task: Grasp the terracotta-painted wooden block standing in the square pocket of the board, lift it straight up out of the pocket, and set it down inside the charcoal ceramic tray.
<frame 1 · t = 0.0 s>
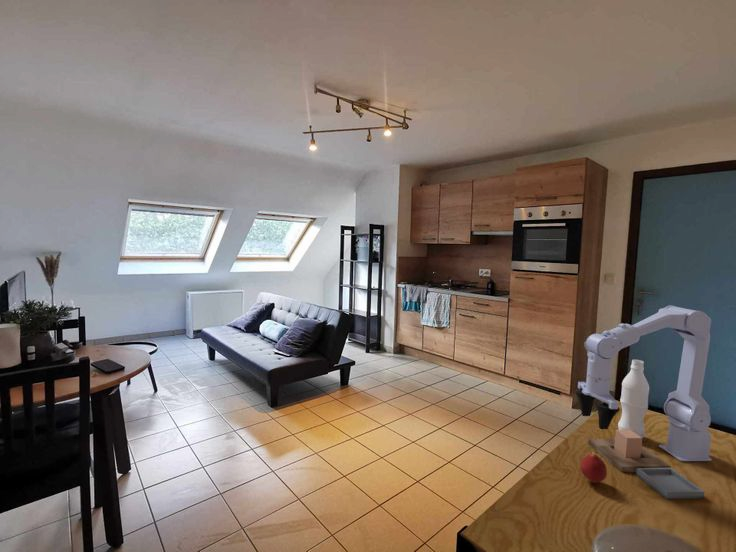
hand: (594, 422, 108), 10 cm above the table, tool pointing down, fingers open, 7 cm apart
block: (627, 445, 108), in the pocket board
tray: (668, 485, 96), on the table
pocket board: (626, 456, 109), on the table
water bottle: (630, 437, 120), on the table
red pomegranate: (592, 482, 96), on the table
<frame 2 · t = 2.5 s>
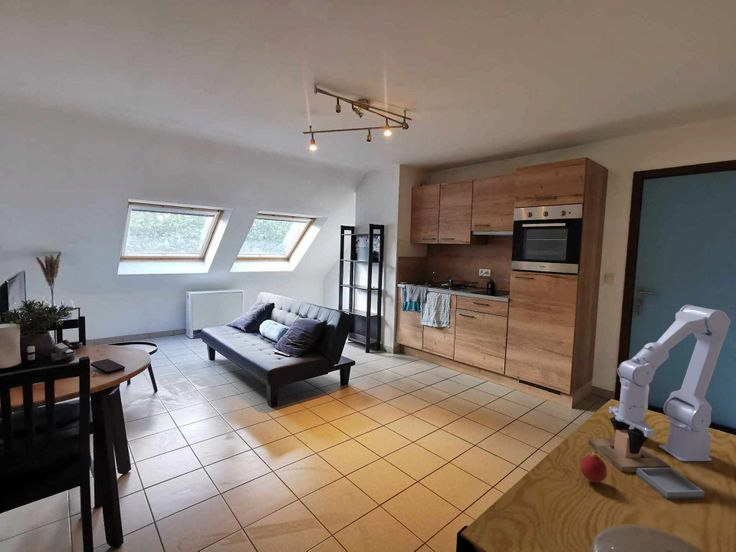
hand: (627, 448, 108), 3 cm above the table, tool pointing down, fingers closed on block, 4 cm apart
block: (627, 445, 108), in the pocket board, touching gripper
everything else where it was.
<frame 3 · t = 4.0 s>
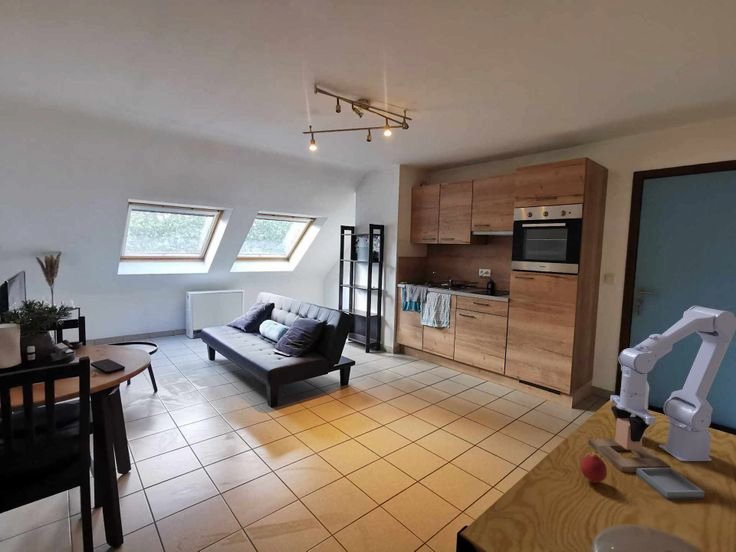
hand: (628, 436, 108), 6 cm above the table, tool pointing down, fingers closed on block, 4 cm apart
block: (629, 433, 108), point 7 cm above the table, touching gripper
everything else where it was.
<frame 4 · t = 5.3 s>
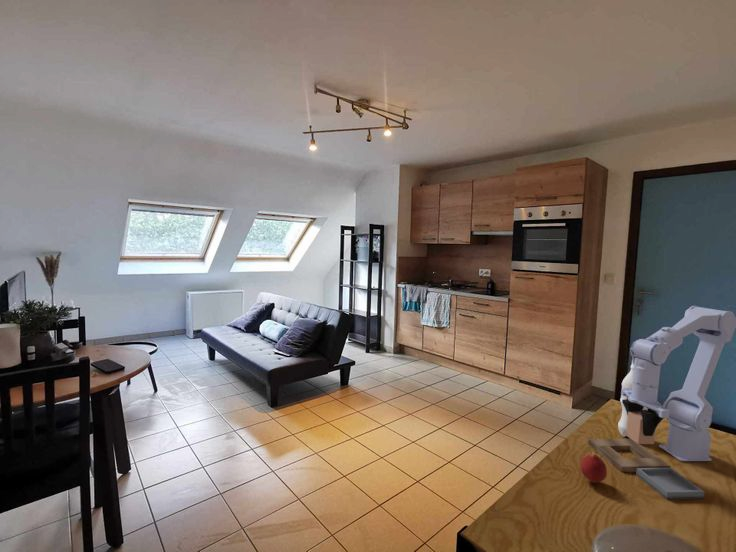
hand: (640, 430, 104), 10 cm above the table, tool pointing down, fingers closed on block, 4 cm apart
block: (640, 427, 104), point 11 cm above the table, touching gripper
everything else where it was.
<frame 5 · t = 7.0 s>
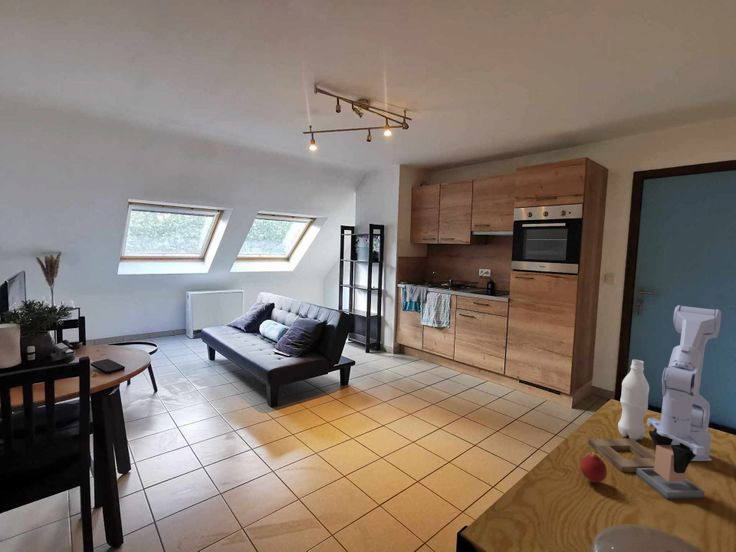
hand: (670, 466, 95), 5 cm above the table, tool pointing down, fingers closed on block, 4 cm apart
block: (670, 462, 95), point 6 cm above the table, touching gripper
everything else where it was.
when the fingers open (4 cm above the table, at t = 8.2 s): block stays where it is, resting on tray.
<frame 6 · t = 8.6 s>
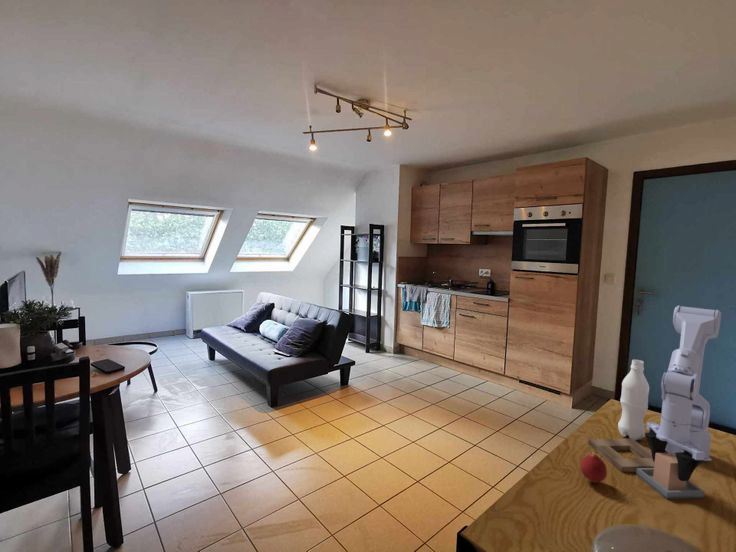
hand: (670, 470, 95), 4 cm above the table, tool pointing down, fingers open, 7 cm apart
block: (669, 470, 95), in the tray, point 4 cm above the table
everything else where it was.
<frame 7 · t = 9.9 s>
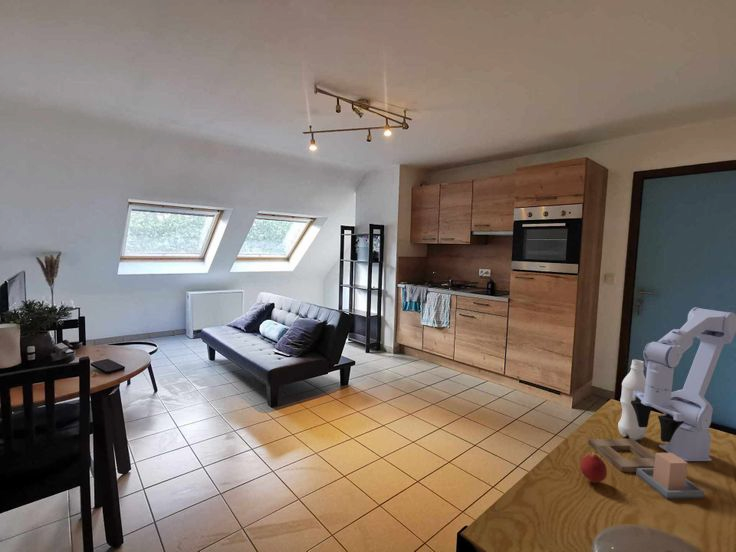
hand: (653, 433, 103), 9 cm above the table, tool pointing down, fingers open, 7 cm apart
nothing on the table moved.
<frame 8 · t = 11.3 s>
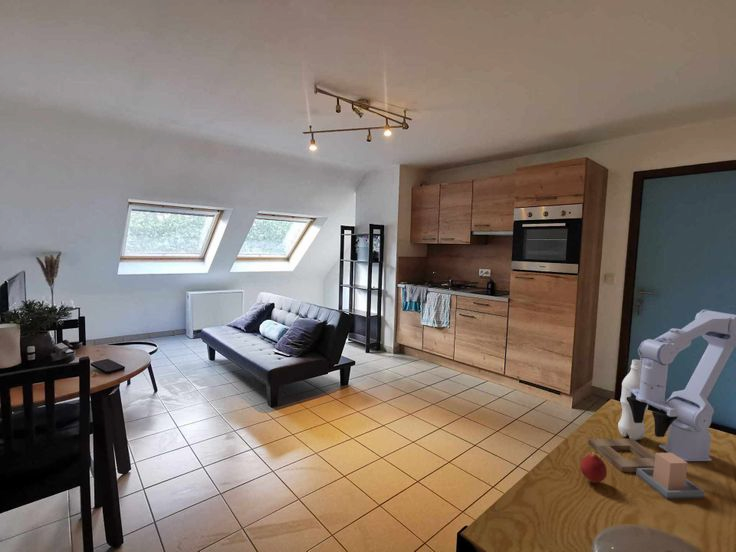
hand: (648, 429, 106), 9 cm above the table, tool pointing down, fingers open, 7 cm apart
nothing on the table moved.
at the end: block 0.0 cm off-centre on the tray, point 4.1 cm above the tray's base; block touching tray; the gripper is holding nothing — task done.
